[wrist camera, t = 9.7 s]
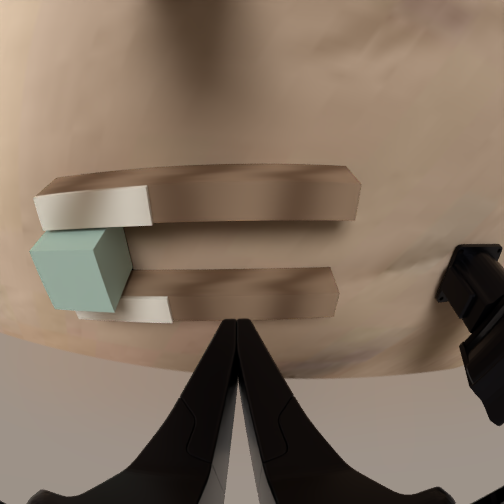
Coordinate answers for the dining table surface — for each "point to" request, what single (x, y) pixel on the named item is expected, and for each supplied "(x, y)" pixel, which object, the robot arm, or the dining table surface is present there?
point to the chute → (209, 209)
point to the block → (83, 267)
